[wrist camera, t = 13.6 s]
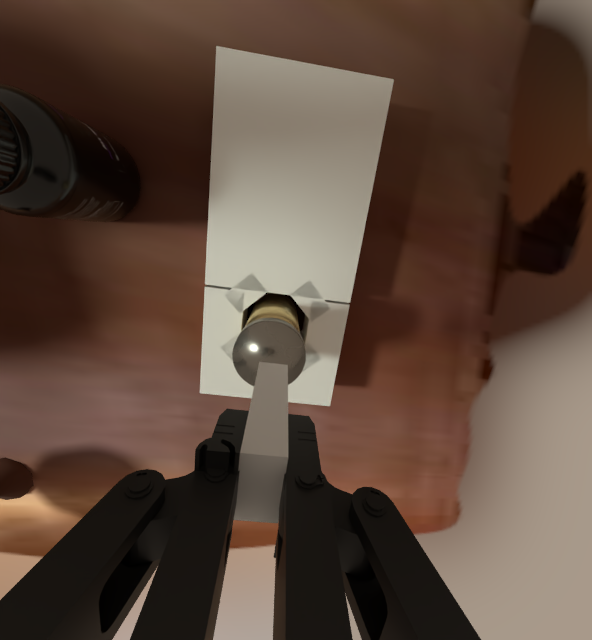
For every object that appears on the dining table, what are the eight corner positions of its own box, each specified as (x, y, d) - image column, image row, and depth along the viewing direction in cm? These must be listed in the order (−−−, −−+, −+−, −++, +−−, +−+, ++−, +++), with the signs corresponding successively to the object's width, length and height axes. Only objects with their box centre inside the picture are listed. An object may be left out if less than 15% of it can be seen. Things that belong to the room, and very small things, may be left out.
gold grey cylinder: (248, 335, 29) (229, 385, 19) (252, 288, 28) (235, 317, 18) (295, 340, 29) (300, 393, 20) (302, 294, 28) (310, 326, 18)
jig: (210, 372, 30) (199, 392, 26) (228, 77, 23) (216, 46, 19) (324, 384, 31) (329, 406, 27) (376, 104, 24) (393, 79, 20)
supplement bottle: (142, 140, 24) (9, 55, 12) (144, 227, 26) (30, 223, 14) (55, 126, 23) (-170, 24, 12) (63, 216, 25) (-123, 202, 14)
